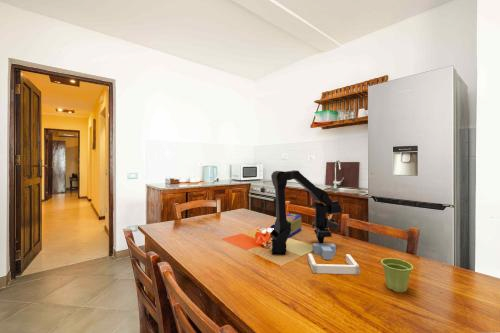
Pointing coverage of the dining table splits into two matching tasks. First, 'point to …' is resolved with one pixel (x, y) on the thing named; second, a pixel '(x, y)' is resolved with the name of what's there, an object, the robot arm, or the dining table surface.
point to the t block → (325, 250)
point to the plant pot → (396, 274)
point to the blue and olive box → (293, 223)
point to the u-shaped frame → (335, 266)
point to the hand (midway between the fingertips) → (321, 245)
